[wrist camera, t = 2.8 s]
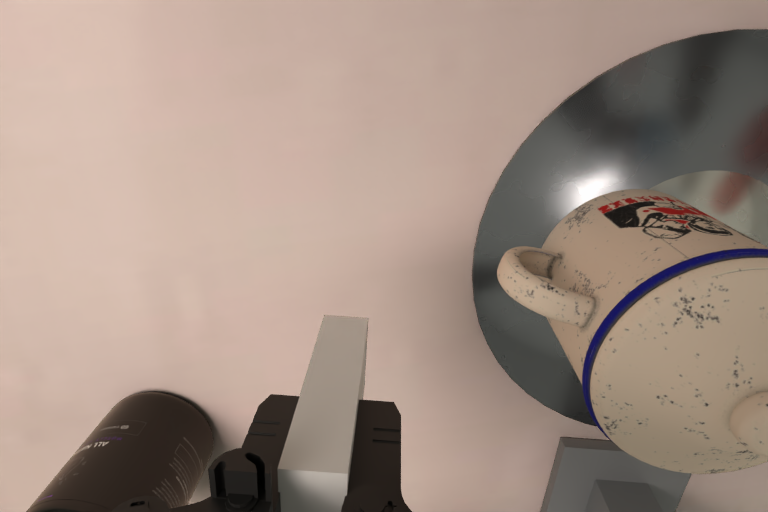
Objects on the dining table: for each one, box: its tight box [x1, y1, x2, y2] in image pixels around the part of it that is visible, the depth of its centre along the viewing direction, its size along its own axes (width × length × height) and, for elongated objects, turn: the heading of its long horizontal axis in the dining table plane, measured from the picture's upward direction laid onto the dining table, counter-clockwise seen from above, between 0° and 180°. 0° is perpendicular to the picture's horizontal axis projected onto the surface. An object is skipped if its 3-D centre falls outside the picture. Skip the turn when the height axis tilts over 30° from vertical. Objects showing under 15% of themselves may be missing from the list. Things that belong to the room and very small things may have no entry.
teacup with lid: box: [497, 189, 768, 474], centre depth 19 cm, size 12×9×12 cm
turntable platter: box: [472, 30, 768, 426], centre depth 24 cm, size 22×22×1 cm
